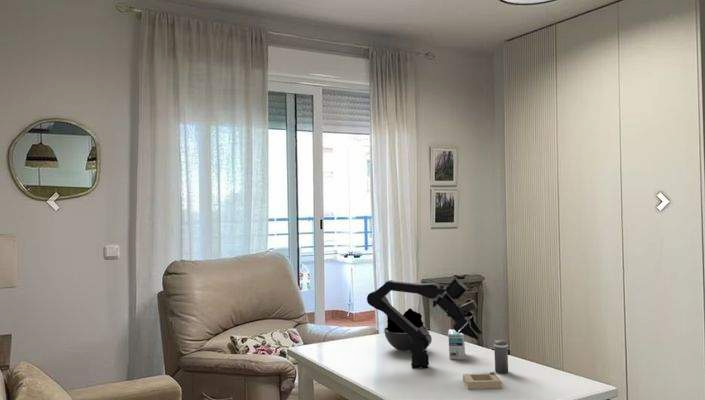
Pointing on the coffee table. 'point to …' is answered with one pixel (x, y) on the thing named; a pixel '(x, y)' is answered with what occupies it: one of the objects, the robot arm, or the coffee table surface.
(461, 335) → the light bulb box
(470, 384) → the tan square frame
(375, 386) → the coffee table surface
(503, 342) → the canister
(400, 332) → the coal bowl
